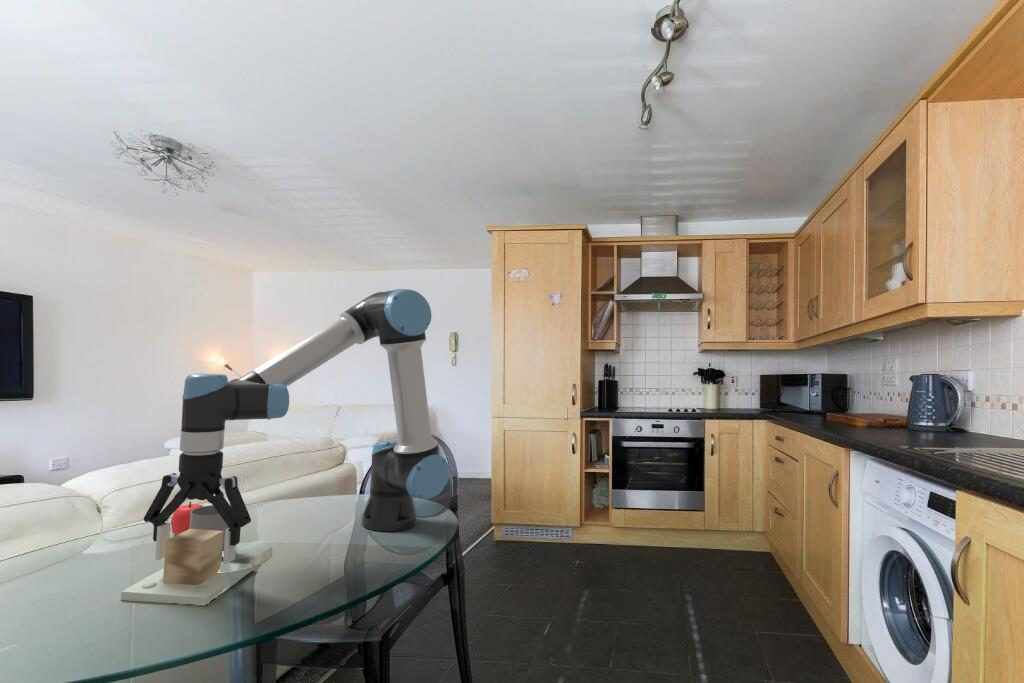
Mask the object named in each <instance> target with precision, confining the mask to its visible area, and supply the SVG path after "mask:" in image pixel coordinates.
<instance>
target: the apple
mask: <svg viewBox="0 0 1024 683" xmlns="http://www.w3.org/2000/svg"><path fill="white" fill-rule="evenodd" d="M199 507H204V505H203V504H198V503H197V504H196V503H193V504H192V501H189V503H188V504H184V505H180V506H179V507H178V508H177V510H176V511H175V512H174V513H173V514H172V515H171V519H170V520H171V521H170V522H171V524H170V527H171V532H172V534H174V536H176V535H178V534H180V533H182V532H184V531H186V530H189V527H190V513H191V511H192V510H193V509H196V508H199Z"/></svg>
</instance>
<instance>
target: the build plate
mask: <svg viewBox="0 0 1024 683" xmlns="http://www.w3.org/2000/svg"><path fill="white" fill-rule="evenodd" d="M163 574H164V567H163V568H161V569H159V570H158V571H155V572H154V573H152V574H150V575H149V576H147V577H145V578H143V579H141V580H140V581H138V582H135V583H134V584H133V585H131V586H128V587H127V588H124V590H122V591H121V592H120V601H127V602H128V601H131V602H144V603H159V604H160V603H161V604H171V603H177V604H176V605H185V604H207V603H208V602H209V601H211V600H212V599H213V598H214V597H215V596H217V595H218V594H219V593H220V592H222V590H223V589H224V588H225V586H226V585H227V583H228V581H226V579H225V578H224V577H223V576H222V575H221V574H218V573H216V574H215V575H213V576H212V577H210V578H209V579H207V580H206V581H204V582H203V583H201V584H200V585H187V584H172V583H163Z"/></svg>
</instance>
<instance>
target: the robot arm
mask: <svg viewBox="0 0 1024 683" xmlns="http://www.w3.org/2000/svg"><path fill="white" fill-rule="evenodd" d="M431 322H432V309H431V306H430V303H429V302H428V300H427V298H426V297H425V296H423V295H422V294H421V293H420V292H418V291H417V290H413V289H408V288H407V289H406V288H403V289H402V288H398V289H397V288H396V289H393V290H387V291H378V292H375V293H372V294H371V295H369V296H367V297H365V298H364V299H362V300H361V301H359V302H358V303H356V304H354V305H352V306H351V307H350V308H348V309H347V310H344V311H343V312H342V313H340V315H339V319H338V320H336V321H334V322H332V323H331V324H329V325H327V326H325V327H324V328H322V329H321V330H319V331H317V332H316V333H313V334H312V335H311V336H308V337H307V338H305V339H304V340H302V341H300V342H299V343H297V344H295V345H293V346H292V347H290V348H288V349H286V350H285V351H284V352H281V353H280V354H278V355H277V356H275V357H273V358H271V359H270V360H268V361H267V362H264V363H263V364H261V365H259V366H258V367H257V368H255V369H253V370H252V371H249V372H248V373H246V374H245V375H242V376H241V377H239V378H235V379H230V380H228V375H226V374H223V373H191V374H188V375H187V376H186V378H185V379H184V385H183V386H184V387H183V392H182V393H183V395H182V408H181V409H182V410H181V430H180V437H179V438H180V440H179V451H181V453H180V454H179V460H178V472H179V475H178V474H176V472H172V473H169V474H167V475H163V477H162V479H161V485H160V488H159V490H158V492H157V493H156V495H155V496H154V499H153V501H152V502H151V504H150V506H149V507H148V508H147V511H146V513H145V514H144V516H143V521H144V522H145V523H146V522H147V523H148V522H149V523H151V524H152V525H153V534H152V535H153V537H152V540H153V542H156V543H155V558H154V560H155V561H160V560H162V559H165V548H166V540H168V539H170V538H171V535H170V534H171V521H170V522H167V521H169V519H170V518H171V517H172V516H173V514H174V512H175V511H176V510H177V508H178V507H179V506H182V504H183V503H184V502H185V501H186V500H187V499H188V500H191V501H193V500H199V501H205V500H206V501H207V502H208V503H209V504H211V505H213V506H214V508H215V509H216V510H217V512H218V513H219V514H220V516H221V517H222V518H223V520H224V521H225V523H226V524H227V525H228V527H229V528H228V529H226V530H225V541H224V558H222V559H223V561H222V562H223V564H228V563H229V562H233V561H234V560H235V559H236V547H237V545H238V544H239V543H240V541H241V530H242V529H241V528H244V527H245V526H247V525H248V524H250V523H251V522H252V519H251V516H250V514H249V511H248V509H247V506H246V504H245V501H244V499H243V496H242V494H241V492H240V489H239V485H238V477H237V476H236V475H232V476H231V477H222V470H223V464H224V463H223V462H224V452H223V451H222V450H223V449H224V446H225V445H224V444H225V443H224V442H225V429H226V421H236V420H237V421H242V420H243V421H244V420H268V421H269V420H273V419H281V418H284V417H285V416H286V415H287V413H288V412H289V406H290V393H289V390H288V387H289V386H290V385H292V384H294V383H295V382H297V381H298V380H300V379H302V378H304V377H305V376H306V375H308V374H310V373H311V372H313V371H314V370H316V369H317V368H319V367H320V366H322V365H323V364H326V363H327V362H329V361H330V360H331V359H334V358H335V357H337V356H338V355H340V354H341V353H343V352H344V351H345V350H347V349H350V347H352V346H354V345H355V344H356V345H362V344H365V342H367V341H369V340H372V339H373V338H377V337H379V344H380V345H379V346H380V347H381V348H383V349H385V350H386V352H387V359H388V360H387V362H388V369H389V378H390V385H391V391H392V394H391V395H392V399H393V400H392V401H393V409H394V417H395V423H396V431H397V432H396V433H397V440H384V441H377V442H375V443H374V444H373V446H372V451H371V467H370V468H371V469H370V483H369V484H370V486H369V487H370V489H369V496H368V499H367V502H366V505H365V507H364V509H363V512H362V514H361V525H362V527H363V528H366V529H369V530H372V531H377V532H397V531H403V530H408V529H411V528H413V527H414V526H416V525H417V524H418V523H417V521H418V513H417V509H416V505H415V501H414V499H419V500H430V499H433V498H434V497H437V496H438V495H439V494H440V493H441V492H443V490H444V488H445V486H446V485H447V484H448V481H449V479H450V466H449V462H448V461H447V459H445V457H444V456H442V455H440V447H439V442H438V440H436V439H435V438H434V437H433V436H432V429H431V428H432V427H431V421H430V413H429V404H428V396H427V389H426V388H427V386H426V380H425V379H426V377H425V372H424V363H423V354H422V346H423V345H424V344H425V342H426V340H427V336H426V331H427V330H428V328H429V326H430V325H431ZM176 485H178V486H179V488H180V489H179V490H178V492H177V493H176V494H175V495H174V496H173V498H172V499H171V501H170V502H169V503H168V504H167V505H166V503H167V501H168V499H169V498H170V496H171V494H172V492H173V490H174V489H175V487H176ZM220 487H221V488H222V489H220ZM222 490H224V491H225V492H223V491H222ZM224 495H226V498H227V499H226V498H225V496H224ZM413 498H414V499H413ZM165 505H166V506H165ZM164 506H165V507H164Z"/></svg>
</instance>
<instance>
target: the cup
mask: <svg viewBox="0 0 1024 683" xmlns="http://www.w3.org/2000/svg"><path fill="white" fill-rule="evenodd" d="M228 528H229V527H228V525H227V524H226V523H225V521H224V520H223V518H222V517H221V516H220V514H219V513H218V512H217V510H216V509H215V508H214V506H213V505H212V504H211V505H203V507H199V508H196V509H193V510H192V511H191V513H190V527H189V529H201V530H217V531H223V544H222V551H224V541H225V530H226V529H228Z"/></svg>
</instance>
